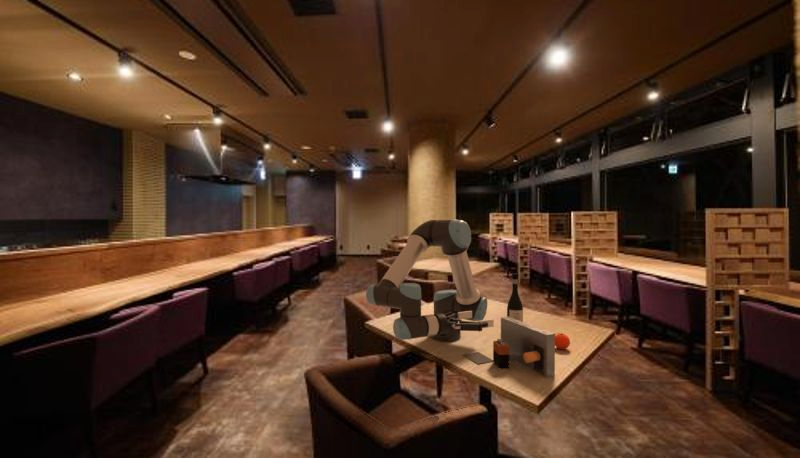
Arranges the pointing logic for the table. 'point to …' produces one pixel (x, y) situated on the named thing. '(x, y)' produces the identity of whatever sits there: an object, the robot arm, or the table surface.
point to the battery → (501, 354)
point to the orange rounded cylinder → (531, 356)
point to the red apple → (562, 341)
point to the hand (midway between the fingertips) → (481, 318)
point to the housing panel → (529, 344)
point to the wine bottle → (515, 301)
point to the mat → (478, 358)
